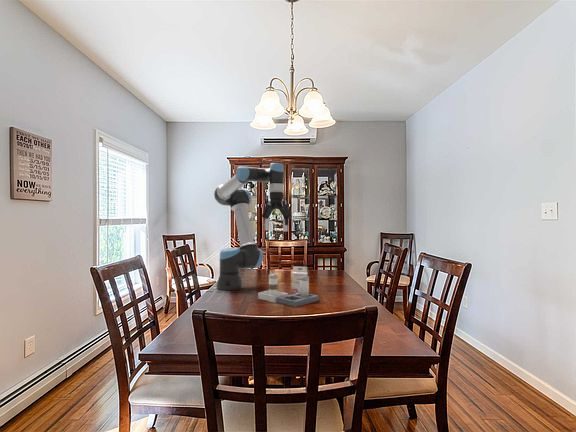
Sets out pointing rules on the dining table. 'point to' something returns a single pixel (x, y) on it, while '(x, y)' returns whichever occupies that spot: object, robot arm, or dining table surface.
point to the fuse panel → (297, 299)
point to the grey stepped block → (297, 278)
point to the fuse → (304, 286)
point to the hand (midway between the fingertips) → (276, 230)
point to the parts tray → (270, 296)
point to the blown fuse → (273, 284)
